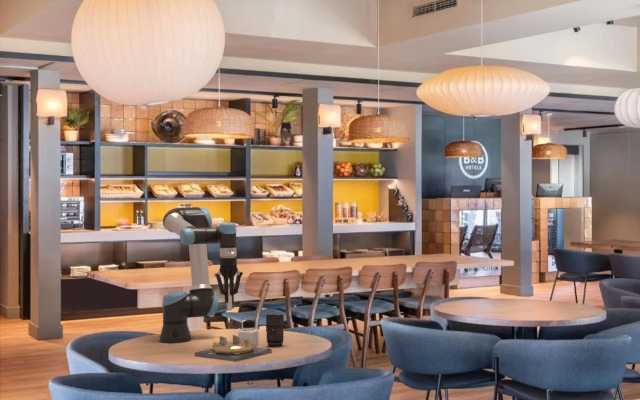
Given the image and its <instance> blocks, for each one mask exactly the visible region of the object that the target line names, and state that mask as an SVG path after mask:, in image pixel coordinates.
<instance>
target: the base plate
mask: <svg viewBox="0 0 640 400" xmlns="http://www.w3.org/2000/svg"><path fill="white" fill-rule="evenodd" d="M272 351H273V350H272V349H271V348H266V347H265V348H264V347H257V346H255V347H254V351H252V352H248V353H242V354H219V353H214V352H213V347H212V348H209V349H208V348H207V349H204V350H200V351H196V352H194V357H199V358H200V357H201V358H206V359H216V360H223V361H231V362H239V361H243V360H246V359H247V360H249V359H252V358H255V357H260V356H263V355H267V354H271V353H272Z"/></svg>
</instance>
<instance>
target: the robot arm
mask: <svg viewBox="0 0 640 400" xmlns="http://www.w3.org/2000/svg"><path fill="white" fill-rule="evenodd" d="M212 221H213V220H212V215H211V213H210V211H209V209H208V208H206V207H201V206H195V207H194V206H191V207H174V208H171V209H169V210H168V211H167V212H166V213H165V214H164V216H163V218H162V224H163V227H164V228H165V230H167V232H169V233H175V234H176V235H177V236H179V240H180V243H181V244H182V245H184V246H185V245H186V246H188V248H189V262H190V275H191V276H190V277H191V287H190V288H189V289H188V291H189V293H188V292H187V291H186V290H178V291H177V290H176V291H172V292H168V293H166V294H163V296H162V304H161V305H162V327H161V332H160V335H159V342H160V343H167V344H168V343H169V344H173V343H174V344H177V343H186V342H189V341H192V334H191V333H190V329H189V324H188V319H189V318H201V317H202V318H203V317H204V318H205V317H206V318H207V317H212V316H213V315H214V316H215V314H216V312H217V310H218V306H219V296H218V293H217V292H216V291H214V288H213V286H212V285H210V273H209V262H208V250H207V249H208V248H207V245H210V244H211V245H212V244H213V245H216V244H218V245H219V257H220V258H219V270H218V272H215V273H214V277H215V278H216V281H217V285H218V286H217V287H218V289H219V292H220V294H221V295H223V296H224V302H225V304H226V311H233V303H234V301H235V298H234V297H235V295H236V294H238V293H239V288H240V283H241V279H242V276H243V272H242V271H240V270H239V268H238V259H237V225H236V223H235V222H221V223H219V225H218V226H215V227H214V226H213V225H212V224H213V222H212ZM221 276H222V277H223V280H222V277H221ZM235 276H236V278H235ZM234 280H235V281H234Z"/></svg>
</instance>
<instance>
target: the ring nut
mask: <svg viewBox="0 0 640 400" xmlns="http://www.w3.org/2000/svg"><path fill="white" fill-rule="evenodd" d="M227 339H228V338H227V337H225V336H223V335H220V336H219V342H216V341H215V342H212V348H213V352H214V353H219V354H242V353H248V352H252V351H254V344H253V343H251V340H244V341H245V342H240V337H239V335H237V334H232V341H228V340H227Z"/></svg>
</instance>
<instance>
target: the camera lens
mask: <svg viewBox="0 0 640 400" xmlns="http://www.w3.org/2000/svg"><path fill="white" fill-rule="evenodd" d="M265 320H266V321H265V323H266V324H265V325H266V328H265V332H266V344H267V347H269V348H280V347H283V343H284V337H285V335H284V326H285V325H284V323H285V317H284V313H281V312H268V313H266V318H265Z"/></svg>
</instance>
